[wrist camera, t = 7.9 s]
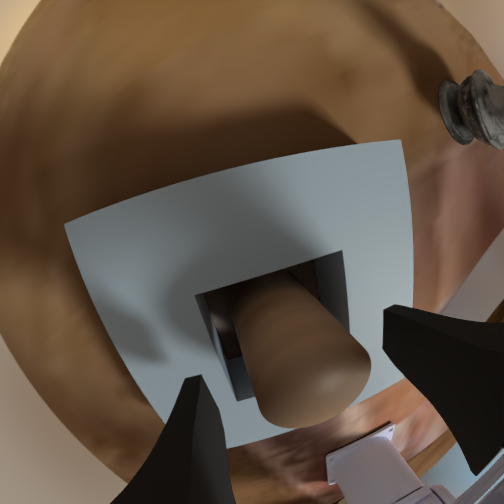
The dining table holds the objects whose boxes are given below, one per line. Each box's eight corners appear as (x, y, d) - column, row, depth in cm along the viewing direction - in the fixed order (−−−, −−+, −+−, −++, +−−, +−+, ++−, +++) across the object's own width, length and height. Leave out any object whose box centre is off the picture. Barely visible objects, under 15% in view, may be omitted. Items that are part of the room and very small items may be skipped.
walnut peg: (305, 322, 15) (367, 402, 9) (238, 341, 15) (269, 440, 8) (296, 258, 14) (374, 321, 7) (221, 277, 14) (246, 365, 7)
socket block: (376, 350, 17) (404, 377, 14) (188, 415, 16) (190, 455, 12) (359, 144, 13) (400, 139, 10) (95, 212, 11) (63, 224, 8)
